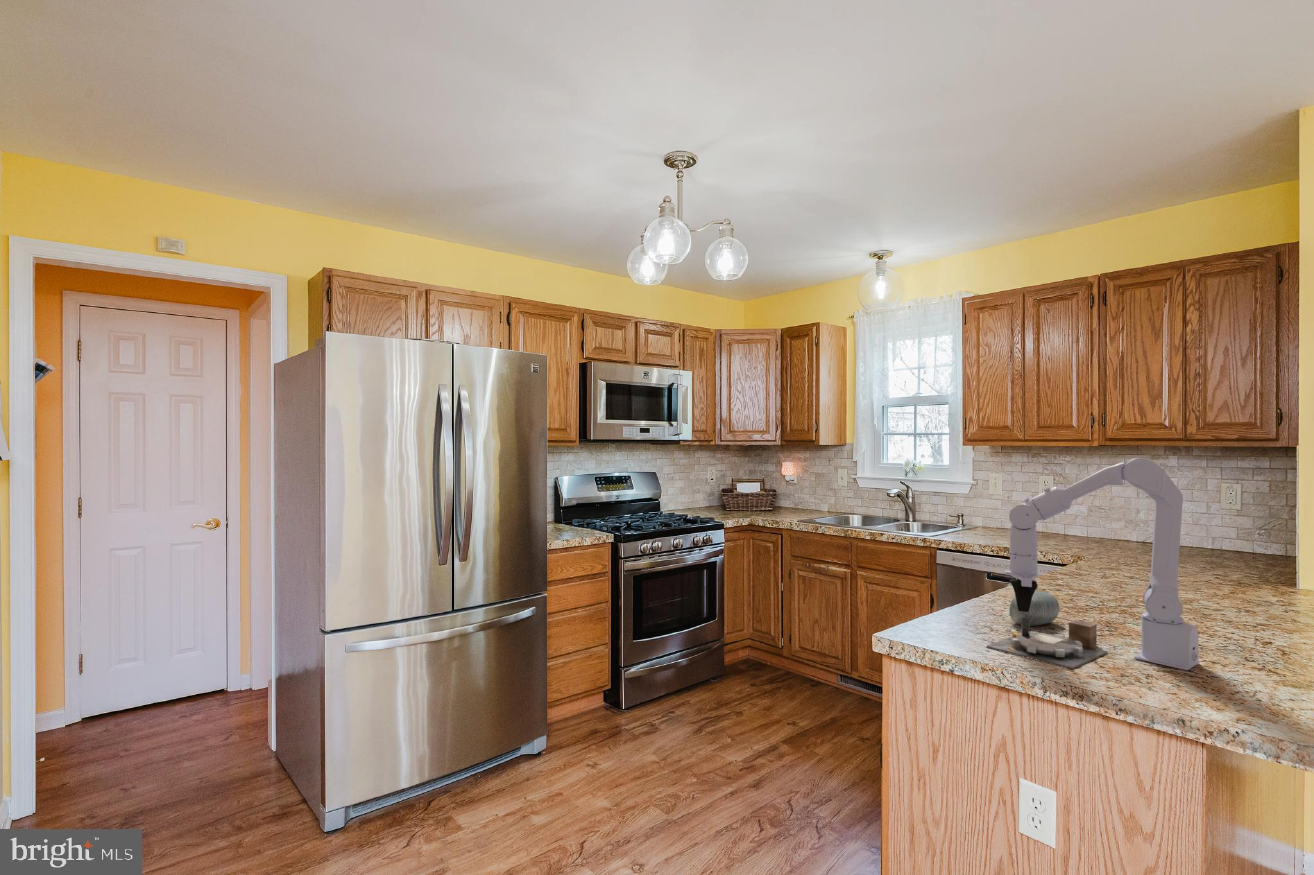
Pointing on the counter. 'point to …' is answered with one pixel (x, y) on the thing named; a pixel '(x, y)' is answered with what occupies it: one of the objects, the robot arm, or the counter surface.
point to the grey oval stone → (1036, 609)
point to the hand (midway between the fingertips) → (1023, 611)
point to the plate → (1066, 661)
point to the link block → (1083, 633)
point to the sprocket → (1045, 642)
